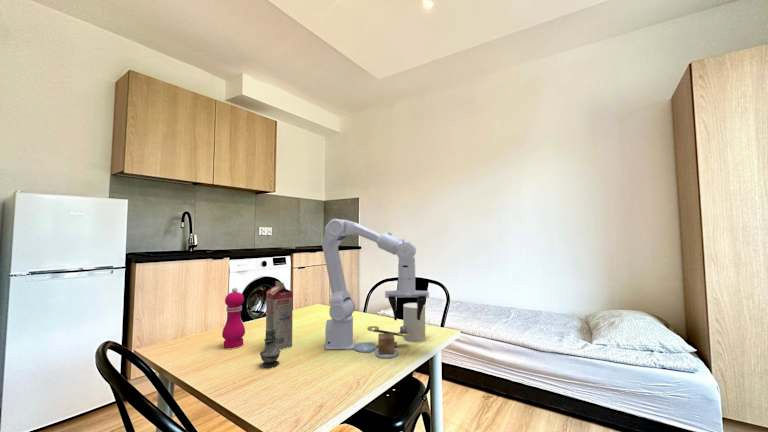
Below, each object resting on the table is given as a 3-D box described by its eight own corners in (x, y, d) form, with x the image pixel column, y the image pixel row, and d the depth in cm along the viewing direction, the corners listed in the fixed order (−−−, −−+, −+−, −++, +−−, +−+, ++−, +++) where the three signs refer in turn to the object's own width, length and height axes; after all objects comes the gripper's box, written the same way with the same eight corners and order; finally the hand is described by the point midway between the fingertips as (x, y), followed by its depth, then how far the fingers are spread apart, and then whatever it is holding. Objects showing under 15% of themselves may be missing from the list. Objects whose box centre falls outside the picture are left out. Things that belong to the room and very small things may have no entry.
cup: (418, 343, 111) (417, 309, 111) (399, 338, 115) (399, 305, 116) (429, 337, 117) (428, 304, 118) (411, 333, 122) (410, 302, 123)
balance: (367, 348, 106) (367, 329, 106) (367, 344, 110) (367, 325, 110) (410, 347, 106) (409, 328, 107) (408, 343, 110) (408, 325, 111)
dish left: (353, 352, 102) (353, 350, 102) (354, 344, 110) (354, 342, 110) (376, 352, 102) (376, 350, 102) (376, 344, 110) (376, 341, 110)
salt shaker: (260, 370, 89) (261, 327, 90) (258, 362, 94) (259, 322, 95) (281, 366, 92) (282, 325, 92) (278, 359, 97) (279, 320, 98)
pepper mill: (216, 347, 107) (218, 288, 108) (234, 340, 113) (235, 285, 114) (232, 350, 104) (234, 290, 105) (249, 343, 111) (250, 286, 112)
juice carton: (273, 351, 103) (274, 284, 104) (265, 345, 108) (266, 282, 109) (292, 346, 108) (292, 282, 109) (284, 341, 113) (284, 280, 114)
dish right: (374, 358, 97) (374, 356, 97) (374, 349, 105) (374, 347, 105) (398, 358, 97) (398, 355, 97) (397, 349, 105) (397, 346, 105)
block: (378, 354, 98) (378, 338, 98) (378, 348, 103) (378, 333, 103) (394, 354, 98) (394, 338, 99) (393, 348, 103) (393, 333, 104)
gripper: (385, 280, 100) (385, 323, 100) (430, 279, 101) (430, 322, 100) (384, 277, 107) (384, 317, 107) (426, 276, 108) (427, 316, 107)
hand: (406, 319), depth 104 cm, fingers open, 7 cm apart
